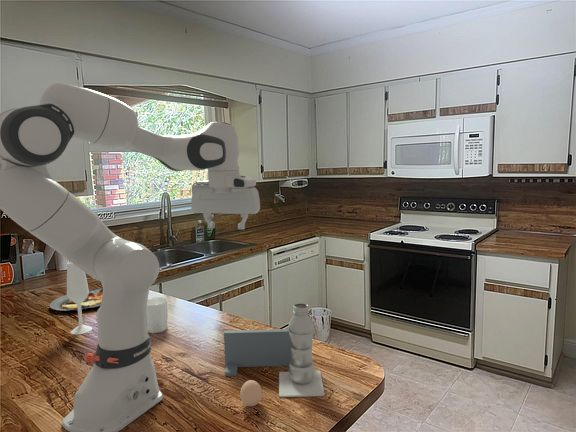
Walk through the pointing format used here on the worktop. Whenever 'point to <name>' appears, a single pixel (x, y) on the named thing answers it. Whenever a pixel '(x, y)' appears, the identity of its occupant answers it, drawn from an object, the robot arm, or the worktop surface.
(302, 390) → the grey mat
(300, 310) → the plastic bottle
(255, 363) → the slate screen
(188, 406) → the worktop surface
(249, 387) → the egg
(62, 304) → the food plate
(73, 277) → the champagne flute
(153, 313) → the white cup
